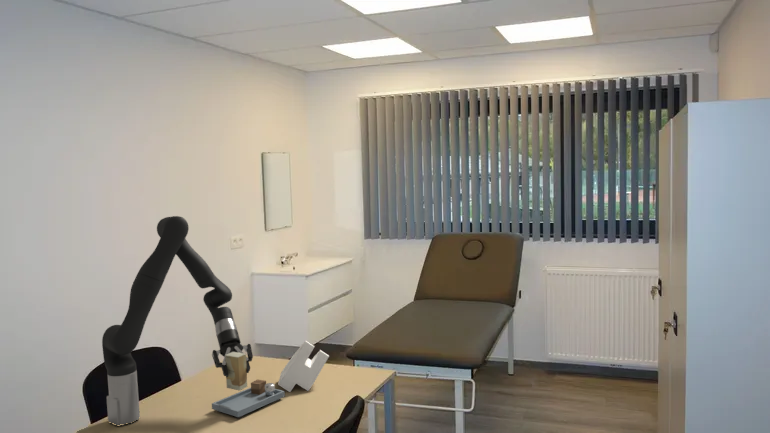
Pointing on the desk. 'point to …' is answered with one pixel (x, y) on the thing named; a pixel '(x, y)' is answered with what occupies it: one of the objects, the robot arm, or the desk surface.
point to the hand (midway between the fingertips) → (237, 373)
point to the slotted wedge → (302, 368)
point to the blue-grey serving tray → (245, 402)
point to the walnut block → (258, 387)
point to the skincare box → (236, 370)
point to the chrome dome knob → (269, 389)
